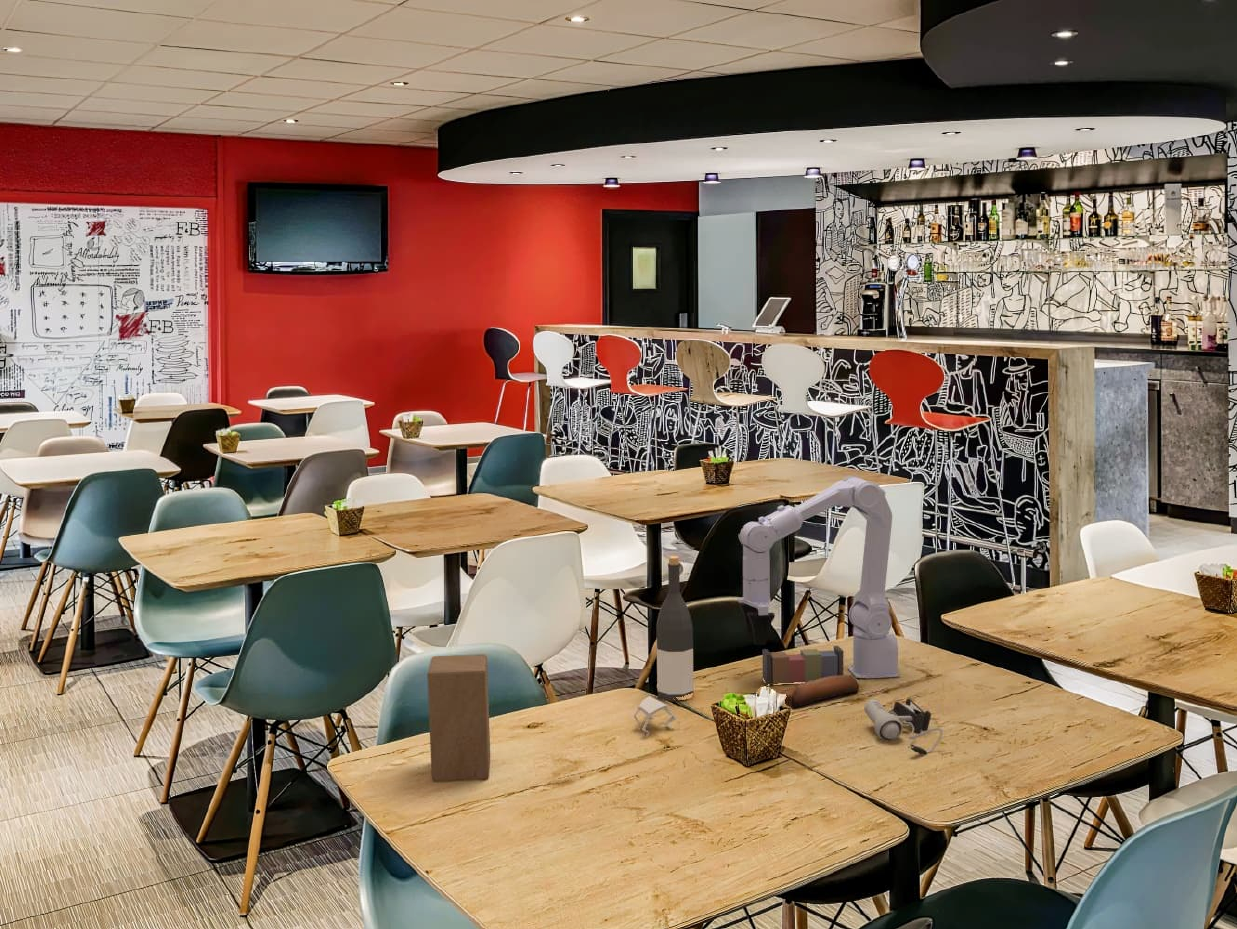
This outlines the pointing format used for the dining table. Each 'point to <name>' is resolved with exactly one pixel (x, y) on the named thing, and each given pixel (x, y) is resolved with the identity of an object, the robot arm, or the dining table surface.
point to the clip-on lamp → (899, 721)
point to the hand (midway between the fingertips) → (756, 639)
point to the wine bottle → (674, 641)
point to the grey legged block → (653, 711)
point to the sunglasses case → (820, 689)
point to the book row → (801, 665)
